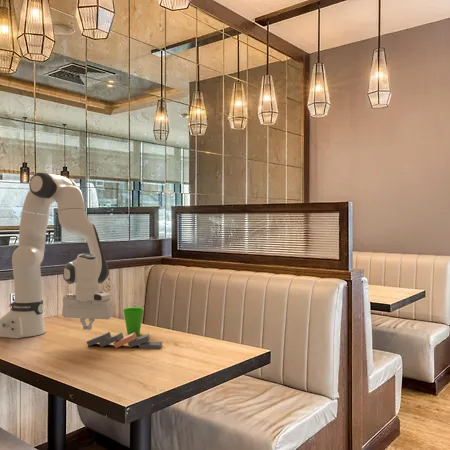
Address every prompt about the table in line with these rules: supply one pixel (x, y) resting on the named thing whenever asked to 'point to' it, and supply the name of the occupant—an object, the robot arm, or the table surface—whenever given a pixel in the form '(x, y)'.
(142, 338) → the domino
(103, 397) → the table surface
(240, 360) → the table surface
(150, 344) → the domino
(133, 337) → the domino
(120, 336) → the domino
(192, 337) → the table surface
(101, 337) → the domino
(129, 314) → the cup
